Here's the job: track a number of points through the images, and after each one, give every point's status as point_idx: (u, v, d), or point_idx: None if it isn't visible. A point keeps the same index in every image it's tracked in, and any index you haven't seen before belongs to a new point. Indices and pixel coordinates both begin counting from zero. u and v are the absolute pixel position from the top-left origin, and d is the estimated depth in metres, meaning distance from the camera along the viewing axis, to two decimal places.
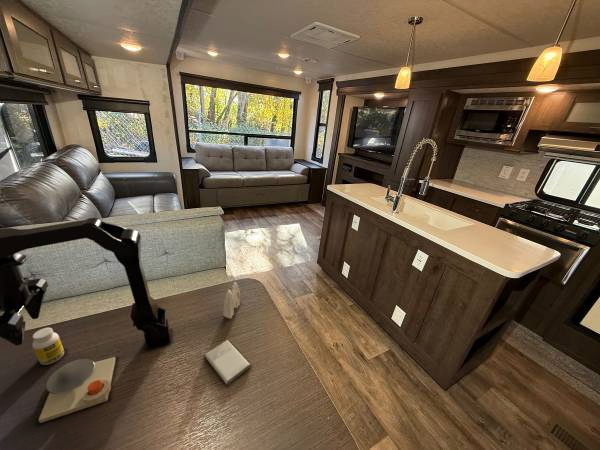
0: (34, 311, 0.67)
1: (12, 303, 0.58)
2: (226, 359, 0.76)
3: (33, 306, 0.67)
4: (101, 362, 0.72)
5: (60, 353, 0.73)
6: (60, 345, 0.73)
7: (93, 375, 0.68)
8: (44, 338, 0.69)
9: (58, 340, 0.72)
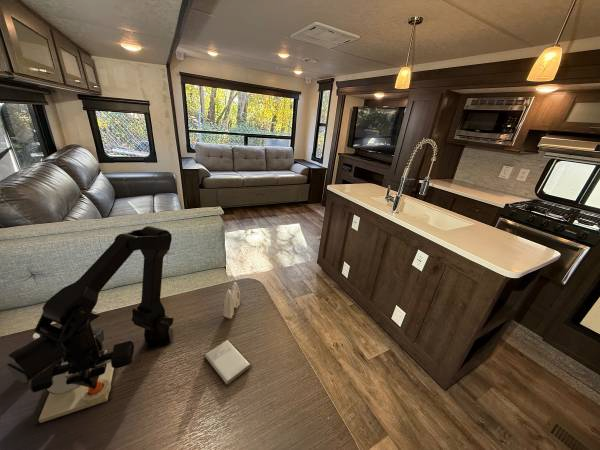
0: None
1: (68, 363, 0.57)
2: (226, 359, 0.76)
3: None
4: None
5: None
6: None
7: None
8: None
9: None
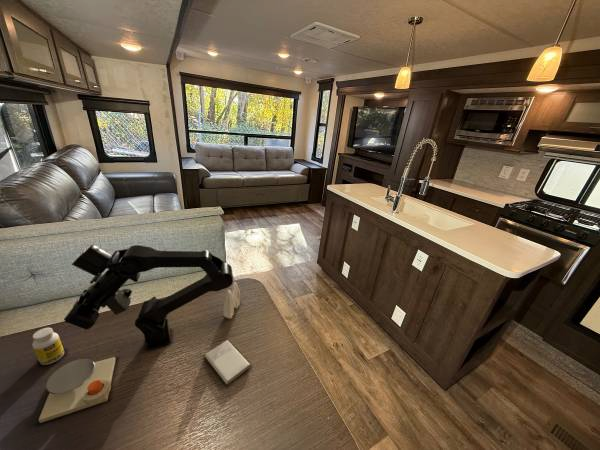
0: None
1: None
2: (226, 359, 0.76)
3: None
4: (101, 362, 0.72)
5: (60, 353, 0.73)
6: (60, 345, 0.73)
7: (93, 375, 0.68)
8: (44, 338, 0.69)
9: (58, 340, 0.72)
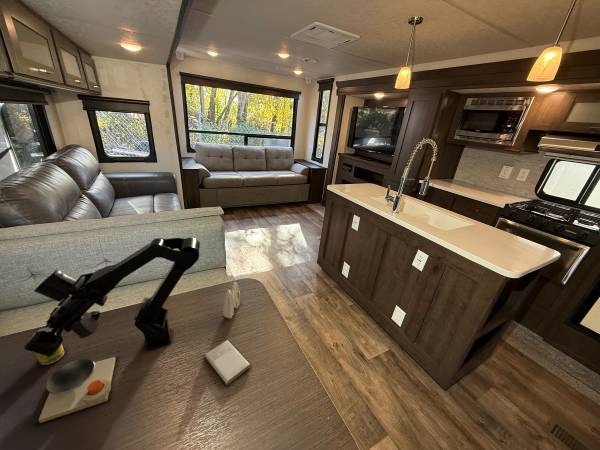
0: None
1: None
2: (226, 359, 0.76)
3: None
4: (101, 362, 0.72)
5: (60, 353, 0.73)
6: (60, 345, 0.73)
7: (93, 375, 0.68)
8: None
9: None
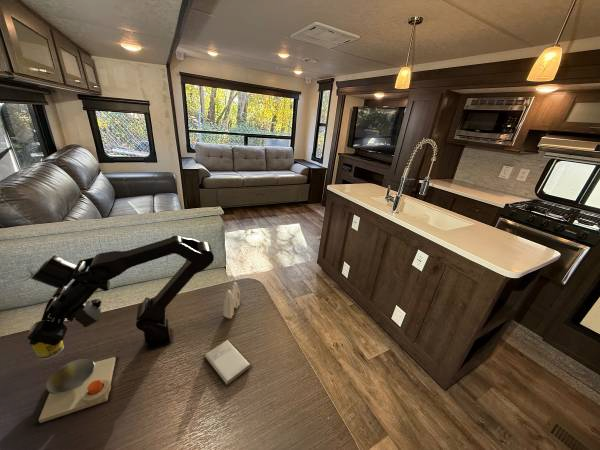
0: None
1: None
2: (226, 359, 0.76)
3: None
4: (101, 362, 0.72)
5: (60, 346, 0.69)
6: None
7: (93, 375, 0.68)
8: None
9: None
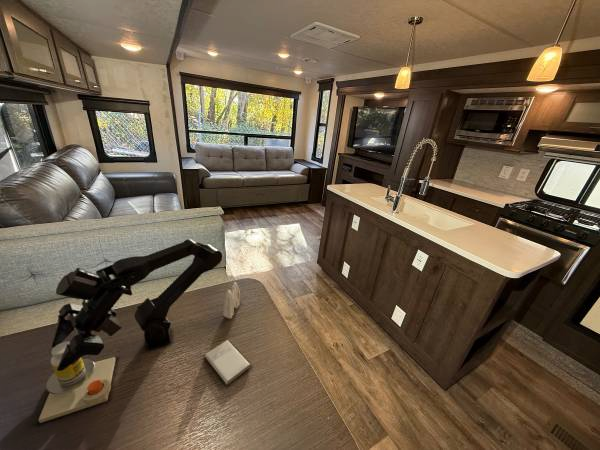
0: None
1: None
2: (226, 359, 0.76)
3: None
4: (101, 362, 0.72)
5: (83, 365, 0.67)
6: None
7: (93, 375, 0.68)
8: None
9: None
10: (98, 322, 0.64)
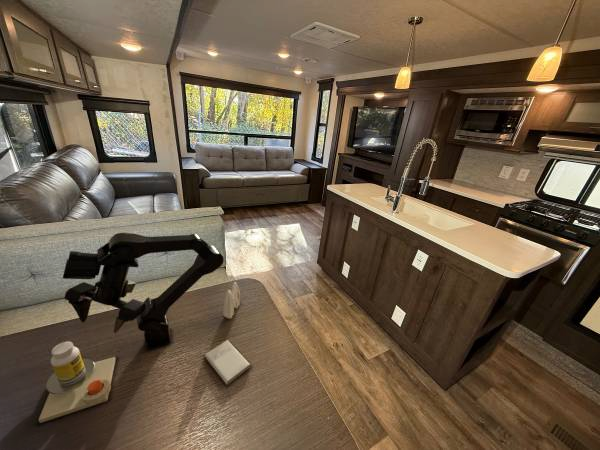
0: None
1: None
2: (226, 359, 0.76)
3: None
4: (101, 362, 0.72)
5: (83, 365, 0.67)
6: None
7: (93, 375, 0.68)
8: (69, 351, 0.62)
9: None
10: (122, 291, 0.69)
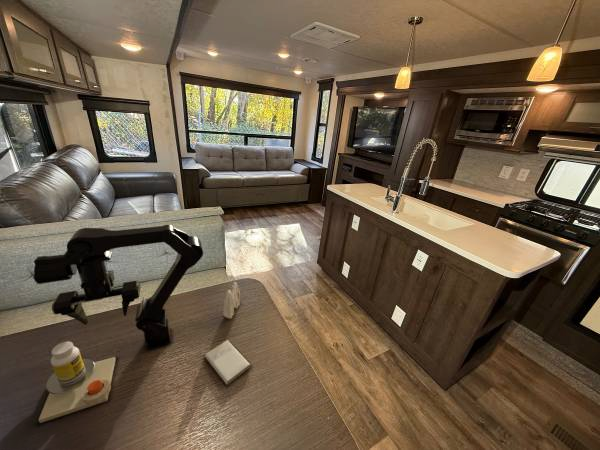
0: None
1: None
2: (226, 359, 0.76)
3: None
4: (101, 362, 0.72)
5: (83, 365, 0.67)
6: None
7: (93, 375, 0.68)
8: (69, 351, 0.62)
9: None
10: None
